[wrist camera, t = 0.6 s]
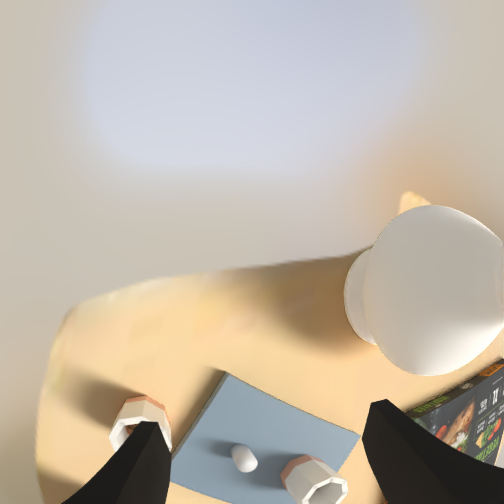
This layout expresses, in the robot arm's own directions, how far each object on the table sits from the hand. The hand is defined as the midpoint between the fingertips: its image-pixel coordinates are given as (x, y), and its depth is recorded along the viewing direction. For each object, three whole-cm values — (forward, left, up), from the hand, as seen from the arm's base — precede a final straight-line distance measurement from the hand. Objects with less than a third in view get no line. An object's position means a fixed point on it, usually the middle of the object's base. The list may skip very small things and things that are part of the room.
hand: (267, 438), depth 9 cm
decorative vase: (+17, -16, -21) cm, 31 cm away
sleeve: (-9, +1, -21) cm, 23 cm away
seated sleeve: (-7, -17, -19) cm, 27 cm away
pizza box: (0, -53, -21) cm, 57 cm away
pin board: (-7, -13, -21) cm, 25 cm away
